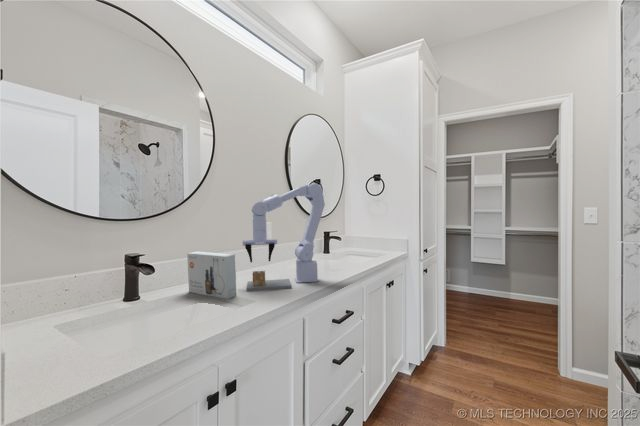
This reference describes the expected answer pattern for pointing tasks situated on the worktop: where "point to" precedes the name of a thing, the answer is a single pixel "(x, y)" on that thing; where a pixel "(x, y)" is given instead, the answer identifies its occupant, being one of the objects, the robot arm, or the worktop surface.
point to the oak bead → (258, 278)
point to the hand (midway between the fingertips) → (260, 261)
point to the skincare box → (212, 274)
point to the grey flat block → (269, 285)
